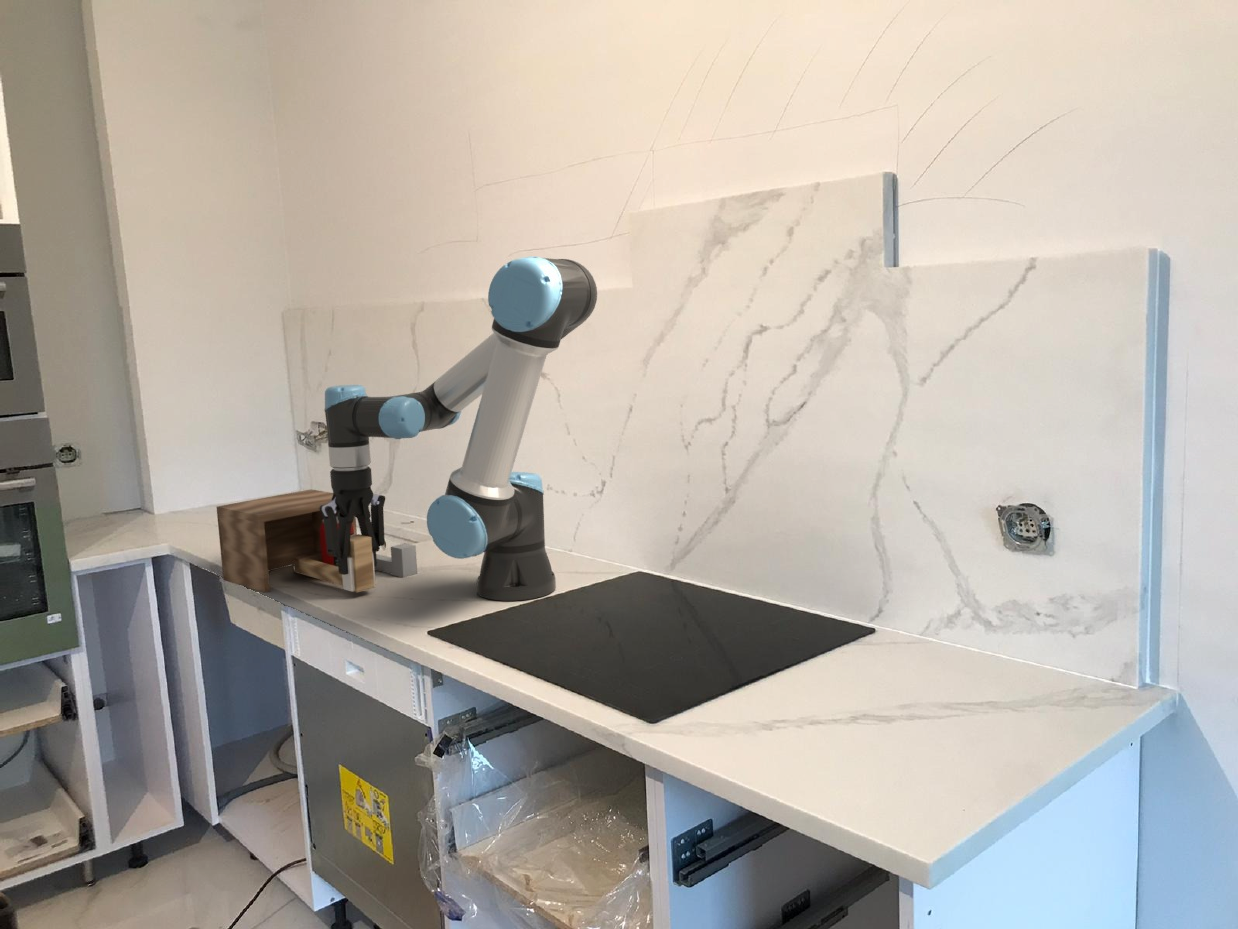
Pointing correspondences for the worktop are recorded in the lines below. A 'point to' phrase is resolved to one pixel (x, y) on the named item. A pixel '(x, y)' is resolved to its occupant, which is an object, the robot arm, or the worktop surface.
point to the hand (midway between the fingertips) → (359, 586)
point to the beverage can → (325, 557)
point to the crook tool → (326, 572)
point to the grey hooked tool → (399, 561)
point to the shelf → (269, 534)
